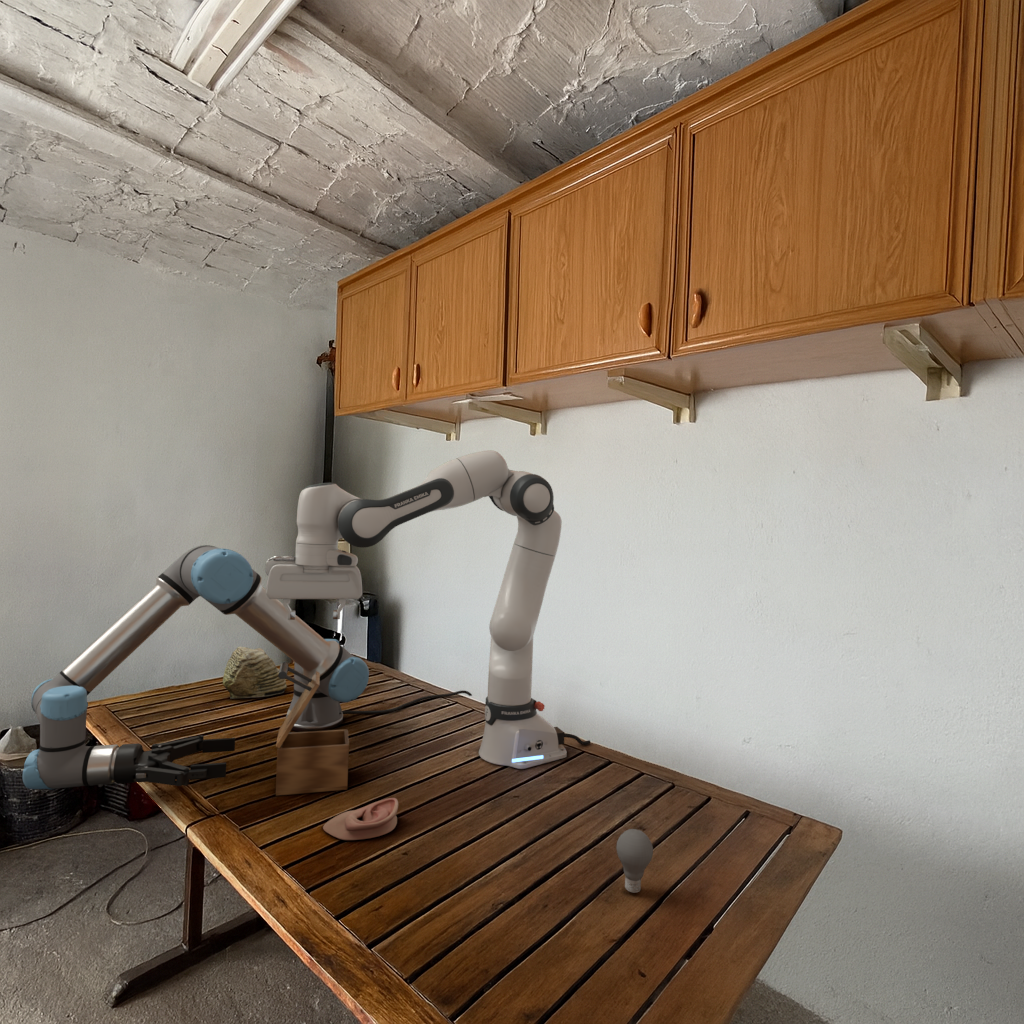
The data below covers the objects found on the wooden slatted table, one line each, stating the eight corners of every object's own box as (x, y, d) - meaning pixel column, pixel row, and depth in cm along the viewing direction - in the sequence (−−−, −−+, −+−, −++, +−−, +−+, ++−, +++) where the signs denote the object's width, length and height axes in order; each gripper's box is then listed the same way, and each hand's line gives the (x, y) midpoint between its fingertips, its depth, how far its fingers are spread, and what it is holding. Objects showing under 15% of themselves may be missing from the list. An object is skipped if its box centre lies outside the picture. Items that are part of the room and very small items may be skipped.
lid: (319, 672, 144) (286, 655, 142) (319, 685, 135) (283, 666, 133) (282, 731, 142) (247, 714, 140) (279, 748, 133) (242, 730, 131)
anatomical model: (315, 814, 118) (343, 787, 129) (314, 835, 118) (343, 807, 129) (382, 825, 115) (405, 796, 127) (381, 846, 116) (404, 816, 127)
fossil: (218, 695, 195) (220, 647, 195) (278, 685, 208) (279, 640, 207) (228, 703, 189) (230, 653, 188) (289, 692, 201) (290, 645, 201)
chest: (345, 770, 147) (347, 729, 147) (347, 789, 138) (349, 745, 137) (278, 776, 143) (280, 733, 142) (275, 795, 133) (277, 749, 133)
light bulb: (610, 879, 108) (613, 822, 108) (644, 879, 109) (647, 822, 109) (619, 902, 102) (622, 840, 102) (655, 901, 103) (658, 840, 103)
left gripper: (134, 757, 141) (237, 751, 147) (96, 811, 117) (221, 801, 123) (135, 724, 141) (238, 718, 147) (97, 771, 117) (222, 762, 123)
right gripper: (264, 556, 133) (262, 622, 133) (364, 558, 139) (361, 621, 139) (267, 554, 139) (264, 616, 139) (362, 555, 145) (360, 615, 145)
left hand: (230, 756), depth 135 cm, fingers open, 13 cm apart
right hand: (314, 619), depth 139 cm, fingers open, 8 cm apart
